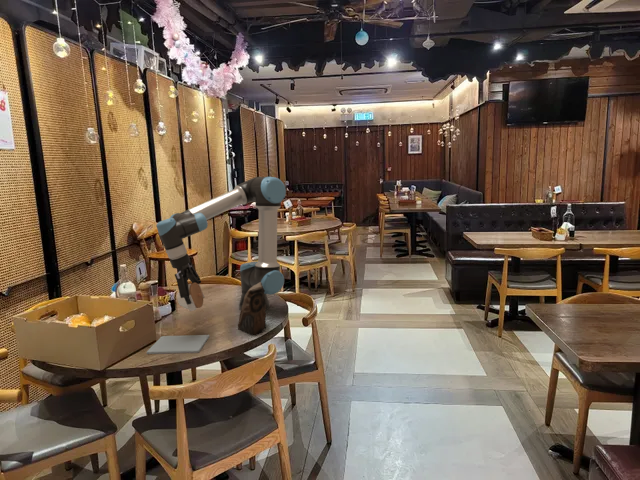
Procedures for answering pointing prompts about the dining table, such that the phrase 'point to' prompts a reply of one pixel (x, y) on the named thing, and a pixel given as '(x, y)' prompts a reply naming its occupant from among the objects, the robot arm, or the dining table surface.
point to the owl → (253, 311)
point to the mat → (179, 344)
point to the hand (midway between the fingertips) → (197, 304)
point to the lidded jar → (195, 294)
